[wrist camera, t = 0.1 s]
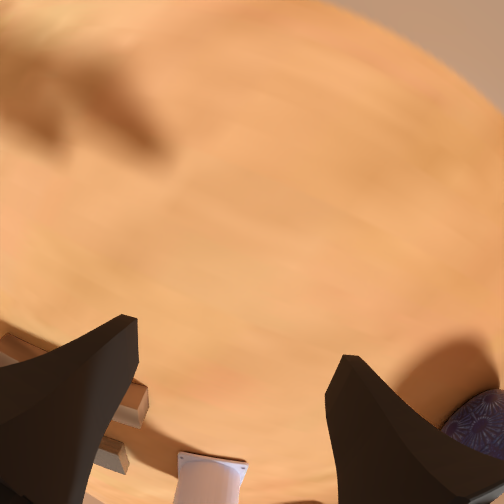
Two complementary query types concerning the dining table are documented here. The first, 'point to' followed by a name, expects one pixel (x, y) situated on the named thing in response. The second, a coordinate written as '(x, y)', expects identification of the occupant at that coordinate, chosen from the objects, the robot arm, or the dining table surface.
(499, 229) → the dining table surface
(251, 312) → the dining table surface
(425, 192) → the dining table surface
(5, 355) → the bench dog strip
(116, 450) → the steel plate
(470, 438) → the planter
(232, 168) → the dining table surface
